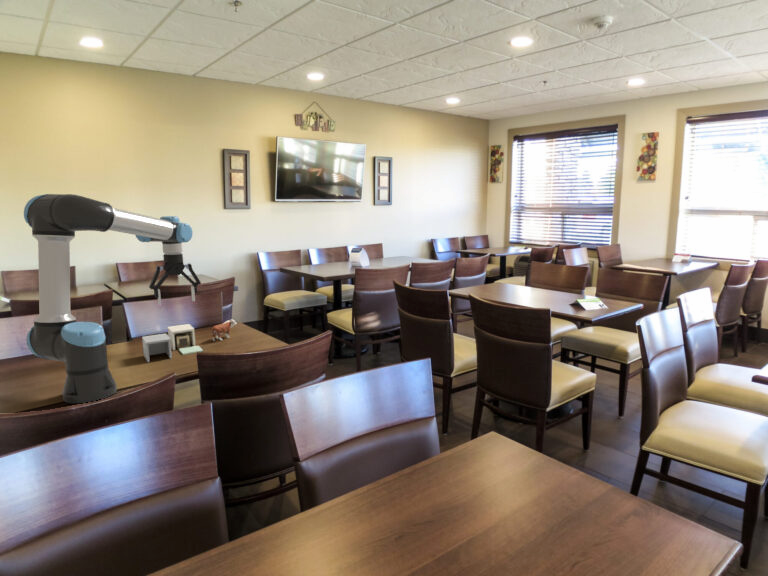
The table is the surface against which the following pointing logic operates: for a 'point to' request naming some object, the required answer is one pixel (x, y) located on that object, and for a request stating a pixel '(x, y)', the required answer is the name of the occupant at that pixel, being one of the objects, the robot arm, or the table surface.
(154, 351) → the grey hood
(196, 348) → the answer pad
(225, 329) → the bull figurine
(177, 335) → the letter cube
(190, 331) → the cream hood
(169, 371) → the table surface
